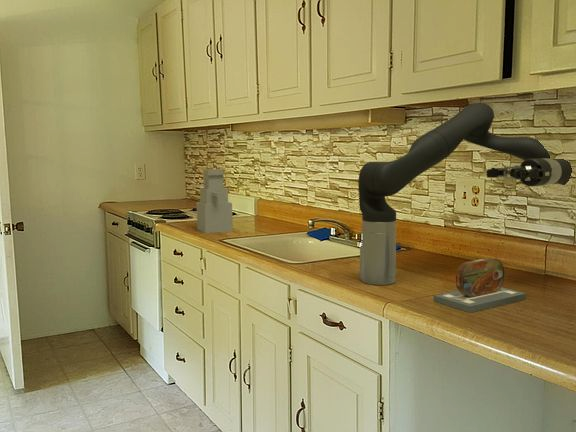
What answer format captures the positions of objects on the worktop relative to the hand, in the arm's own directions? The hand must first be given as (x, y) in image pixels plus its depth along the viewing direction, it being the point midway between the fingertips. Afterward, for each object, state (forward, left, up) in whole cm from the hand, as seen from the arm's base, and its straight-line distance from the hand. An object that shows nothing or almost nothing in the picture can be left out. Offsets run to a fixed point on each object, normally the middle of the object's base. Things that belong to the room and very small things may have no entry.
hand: (501, 174), depth 141 cm
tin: (+6, -14, -29) cm, 32 cm away
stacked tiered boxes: (-139, -21, -30) cm, 144 cm away
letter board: (+6, -14, -30) cm, 34 cm away
